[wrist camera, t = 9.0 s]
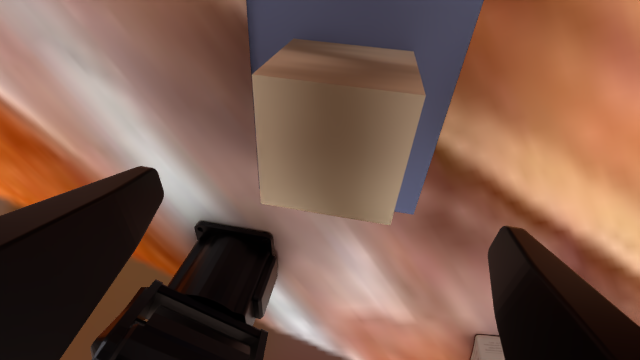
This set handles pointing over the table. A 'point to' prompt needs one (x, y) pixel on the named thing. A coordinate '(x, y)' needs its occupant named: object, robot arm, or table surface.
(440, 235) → the table surface
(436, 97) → the navy book
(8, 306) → the robot arm
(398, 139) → the beech block
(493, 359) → the supplement box
